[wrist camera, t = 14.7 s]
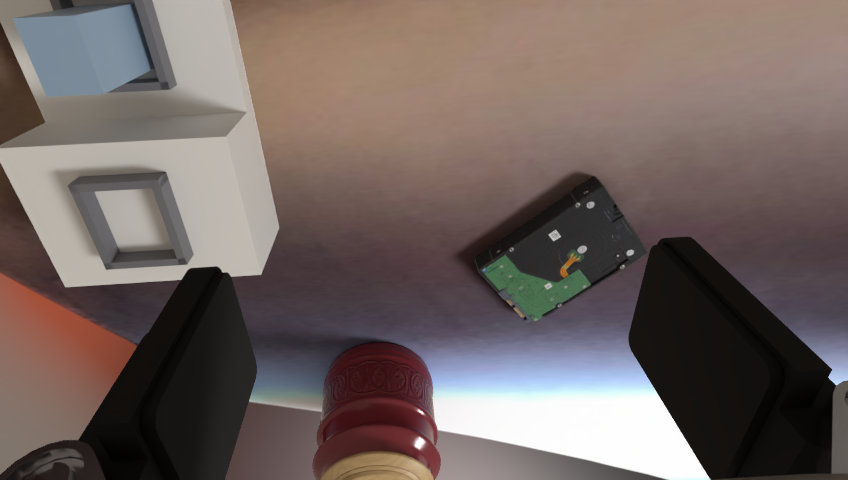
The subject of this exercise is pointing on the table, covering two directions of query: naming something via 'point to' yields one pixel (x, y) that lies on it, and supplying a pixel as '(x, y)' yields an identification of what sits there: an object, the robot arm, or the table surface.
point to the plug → (85, 48)
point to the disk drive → (561, 252)
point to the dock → (148, 156)
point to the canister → (377, 417)
